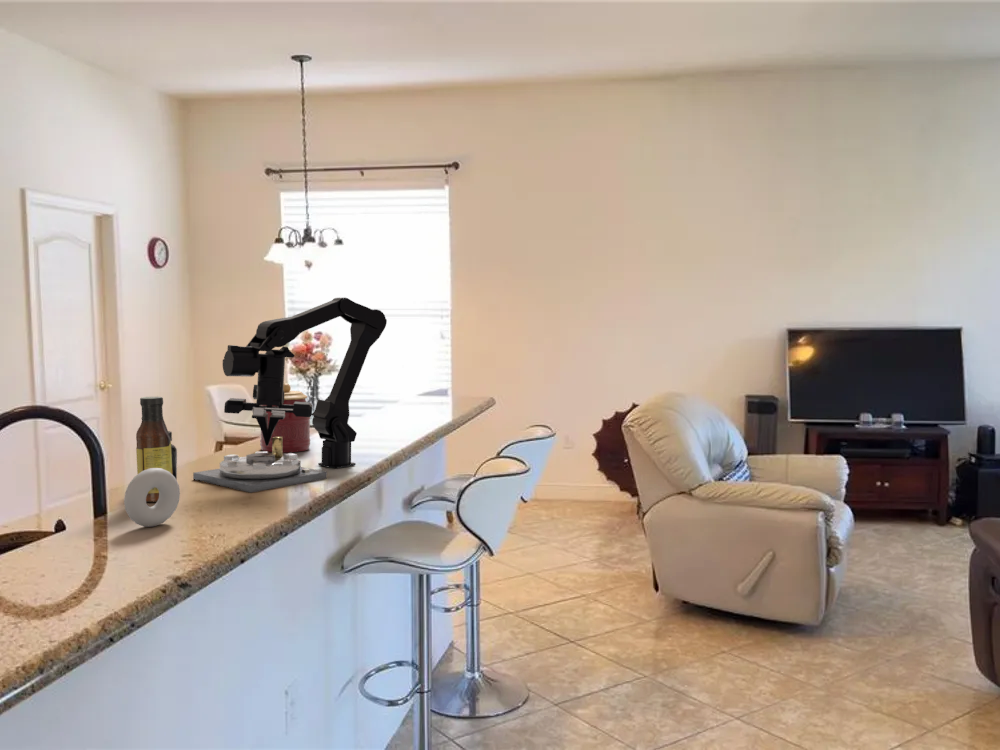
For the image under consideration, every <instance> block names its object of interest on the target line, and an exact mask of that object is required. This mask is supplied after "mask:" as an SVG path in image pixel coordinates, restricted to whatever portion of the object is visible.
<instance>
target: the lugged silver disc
mask: <svg viewBox="0 0 1000 750" xmlns="http://www.w3.org/2000/svg"><path fill="white" fill-rule="evenodd" d="M301 464H302V463H301V460H300V459H299V458H298V454H297V453H294V452H290V453H282V437H272V452H268V451H255V453H250V454H249V453H248V454H246V455H245V456H240V455H239V454H227V455H224V456H223V460H221V462H219V469H220V474H221V475H223V476H226V477H231V478H240V479H267V478H278V477H285V476H290V475H294V474H297V473H299V472H300V471H301V467H302V466H301Z"/></svg>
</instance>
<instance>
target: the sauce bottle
mask: <svg viewBox="0 0 1000 750" xmlns="http://www.w3.org/2000/svg"><path fill="white" fill-rule="evenodd" d="M139 401H140V402H139V404H140V407H141V423H140V425H139V427H138V428H137V431H136V435H135V436H136V438H135V439H136V449H135V451H136V468H137V469H136V470H137V474H136V475H138V474H139V473H140V472H142V471H144V470H147V469H150V468H162V469H164V470H167V471H169V472H170V473H171V474H172V453H171V444H172V441H171V438H170V436H169V433H168V431H169V430H168V427H167V425H166V422H165V420H164V416H163V414H164V413H163V405H164V398H163V396H144V397H140V399H139ZM172 475H173V474H172ZM158 499H159V490H158V489H157V488H156V487H154V488H152V489H151V490H150V491H149V492H148V494H147V496H146V503H157V501H158Z"/></svg>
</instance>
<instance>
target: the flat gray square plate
mask: <svg viewBox="0 0 1000 750" xmlns="http://www.w3.org/2000/svg"><path fill="white" fill-rule="evenodd" d="M192 474H193V475H192V479H195V480H194V481H198V480H200V481H199V482H202V481H204V483H206V482H207V483H208V484H211V485H215V484H216V485H215V486H219V485H220V487H224V488H228V487H229V489H232V488H233V490H236V491H237V490H238V491H242V492H246V493H250V494H252V493H256V492H263V491H266V490H267V491H268V490H273V489H278V488H283V487H289V486H294V485H300V484H305V483H309V482H315V481H319V480H326V479H327V475H328V474H327V471H325V470H319V469H313V468H310V467H309V468H308V467H304V466H301V471H300V472H299V473H297V474H294V475H290V476H285V477H278V478H267V479H240V478H231V477H226V476H223V475H221V474H220V468H215V469H207V470H203V471H202V470H201V471H195V472H193V473H192Z"/></svg>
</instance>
